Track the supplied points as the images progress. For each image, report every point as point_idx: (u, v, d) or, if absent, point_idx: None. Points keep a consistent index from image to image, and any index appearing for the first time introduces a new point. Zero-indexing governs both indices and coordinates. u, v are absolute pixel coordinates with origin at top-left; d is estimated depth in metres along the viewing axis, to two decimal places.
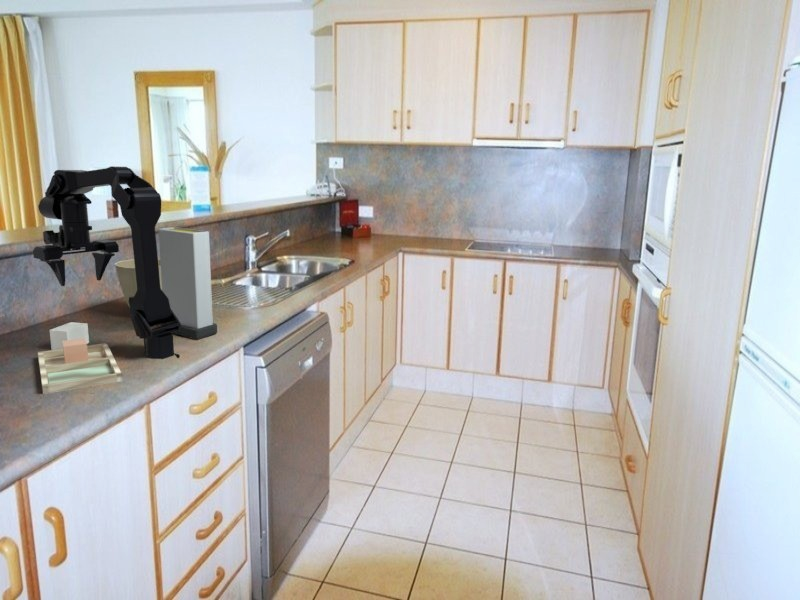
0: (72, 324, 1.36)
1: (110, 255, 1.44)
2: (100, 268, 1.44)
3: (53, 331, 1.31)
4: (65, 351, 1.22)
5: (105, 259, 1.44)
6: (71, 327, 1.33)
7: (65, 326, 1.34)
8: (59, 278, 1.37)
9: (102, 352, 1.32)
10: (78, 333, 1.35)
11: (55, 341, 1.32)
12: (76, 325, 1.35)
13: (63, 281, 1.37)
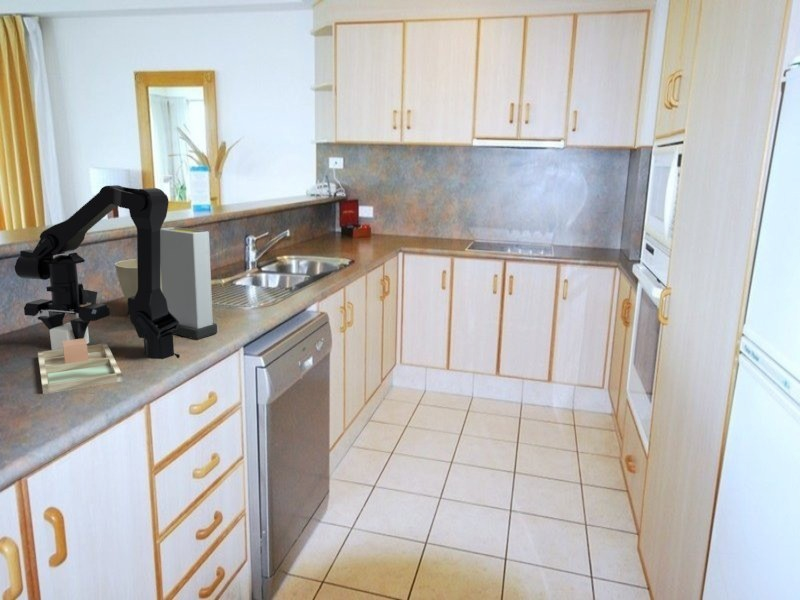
0: None
1: (75, 322, 1.30)
2: None
3: (53, 331, 1.31)
4: (65, 351, 1.22)
5: (72, 324, 1.31)
6: (71, 327, 1.33)
7: (65, 326, 1.34)
8: None
9: (102, 352, 1.32)
10: None
11: (55, 341, 1.32)
12: None
13: None
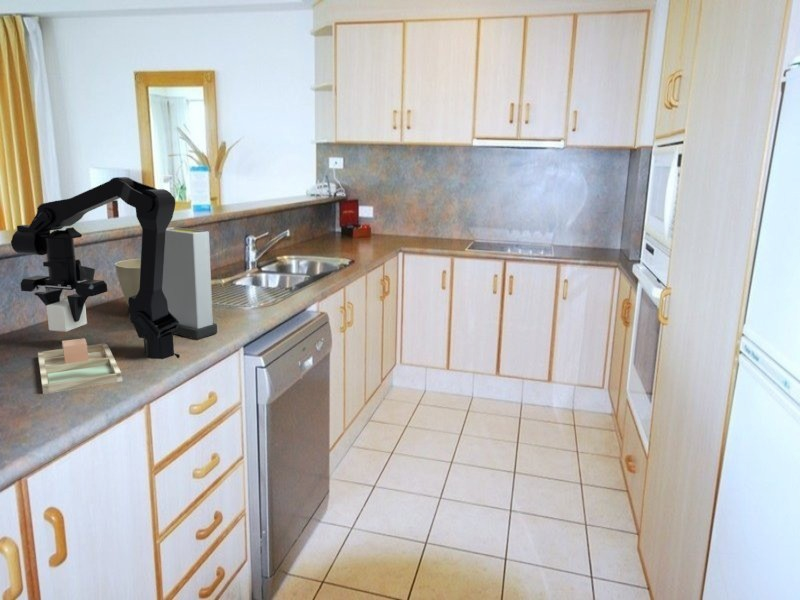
0: None
1: (72, 297, 1.29)
2: None
3: (50, 307, 1.30)
4: (65, 351, 1.22)
5: (69, 300, 1.30)
6: (68, 303, 1.32)
7: (62, 302, 1.33)
8: None
9: (102, 352, 1.32)
10: None
11: (52, 317, 1.30)
12: None
13: None
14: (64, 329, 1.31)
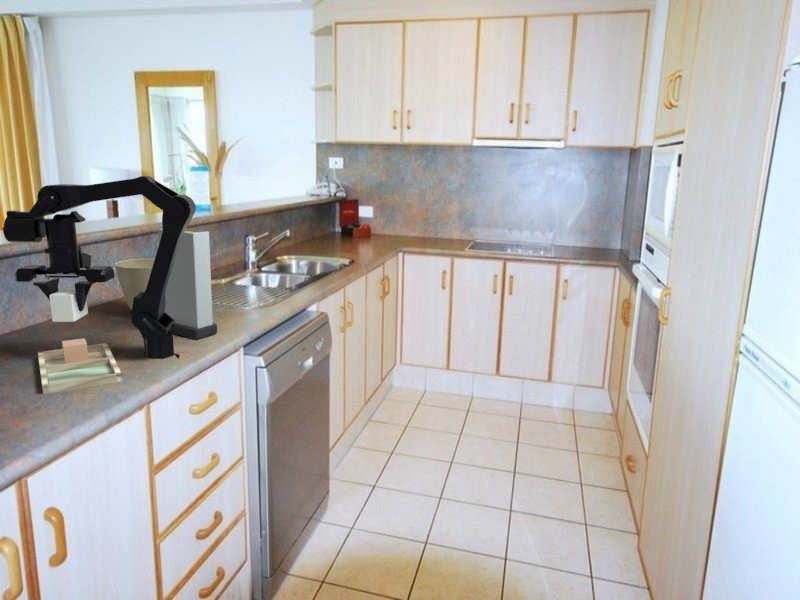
0: (69, 289, 1.27)
1: (81, 285, 1.22)
2: None
3: (54, 296, 1.22)
4: (65, 351, 1.22)
5: (77, 288, 1.23)
6: (72, 292, 1.25)
7: (63, 291, 1.25)
8: None
9: (102, 352, 1.32)
10: None
11: (56, 307, 1.23)
12: None
13: None
14: (71, 319, 1.23)
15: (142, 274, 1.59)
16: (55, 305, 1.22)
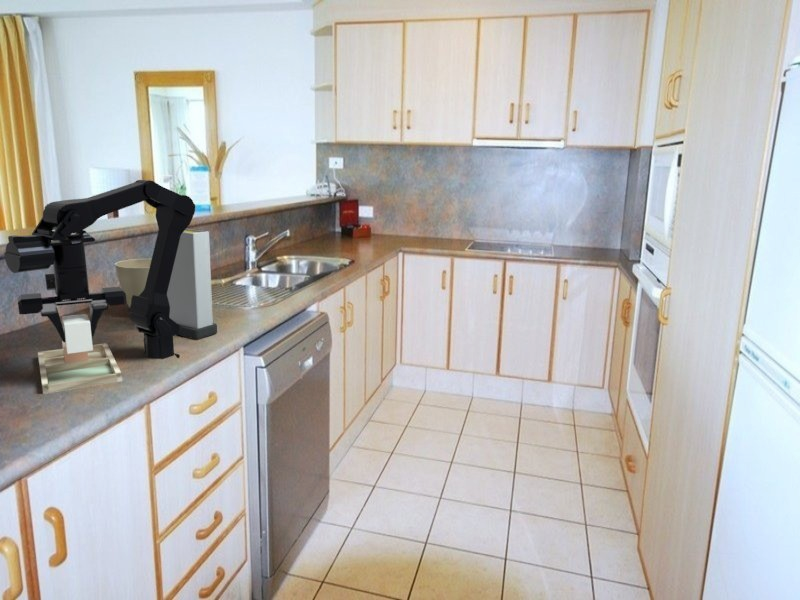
0: (72, 317, 1.15)
1: (100, 309, 1.14)
2: (90, 324, 1.15)
3: (70, 325, 1.10)
4: (65, 351, 1.22)
5: (94, 314, 1.13)
6: (83, 319, 1.14)
7: (71, 319, 1.13)
8: None
9: (102, 352, 1.32)
10: None
11: (73, 337, 1.11)
12: (81, 317, 1.15)
13: (62, 337, 1.12)
14: (90, 348, 1.13)
15: (142, 274, 1.59)
16: (71, 335, 1.11)
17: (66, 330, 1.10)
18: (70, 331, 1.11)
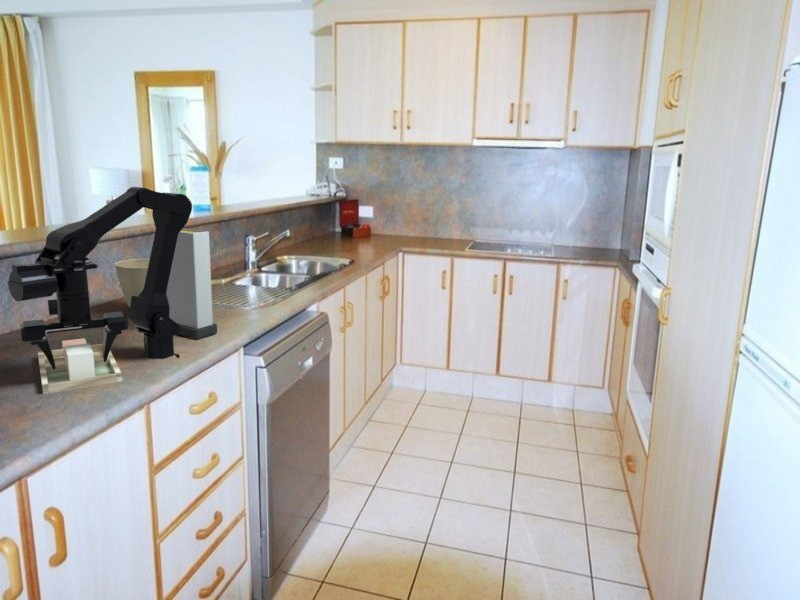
0: (75, 347, 1.17)
1: (114, 334, 1.16)
2: (104, 348, 1.17)
3: (73, 356, 1.12)
4: None
5: (108, 338, 1.16)
6: (86, 349, 1.16)
7: (74, 349, 1.15)
8: None
9: (102, 352, 1.32)
10: None
11: (76, 367, 1.13)
12: (84, 346, 1.17)
13: (52, 364, 1.12)
14: None
15: (142, 274, 1.59)
16: (74, 365, 1.12)
17: (69, 361, 1.12)
18: (73, 361, 1.12)
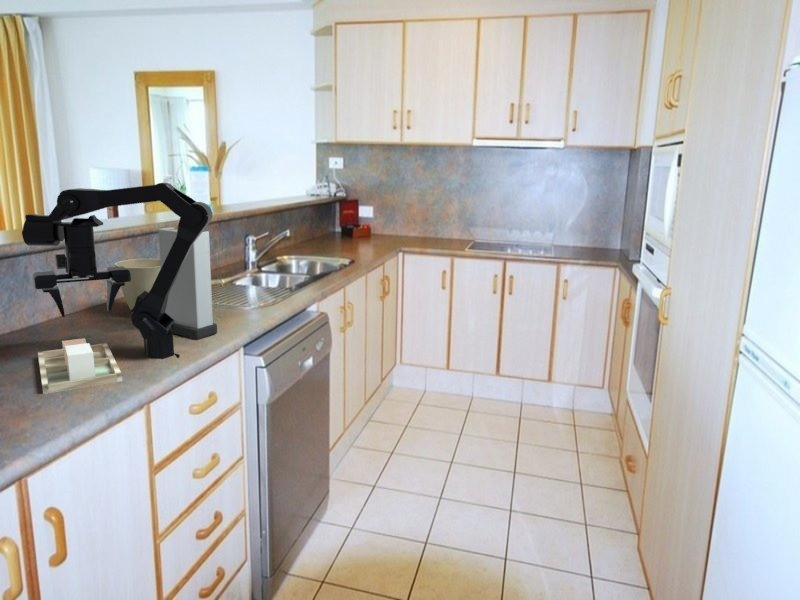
0: (75, 347, 1.17)
1: (118, 285, 1.27)
2: (108, 299, 1.28)
3: (73, 356, 1.12)
4: None
5: (113, 289, 1.27)
6: (86, 349, 1.16)
7: (74, 349, 1.15)
8: (58, 308, 1.23)
9: (102, 352, 1.32)
10: None
11: (76, 367, 1.13)
12: (84, 346, 1.17)
13: (61, 312, 1.23)
14: None
15: (142, 274, 1.59)
16: (74, 365, 1.12)
17: (69, 361, 1.12)
18: (73, 361, 1.12)
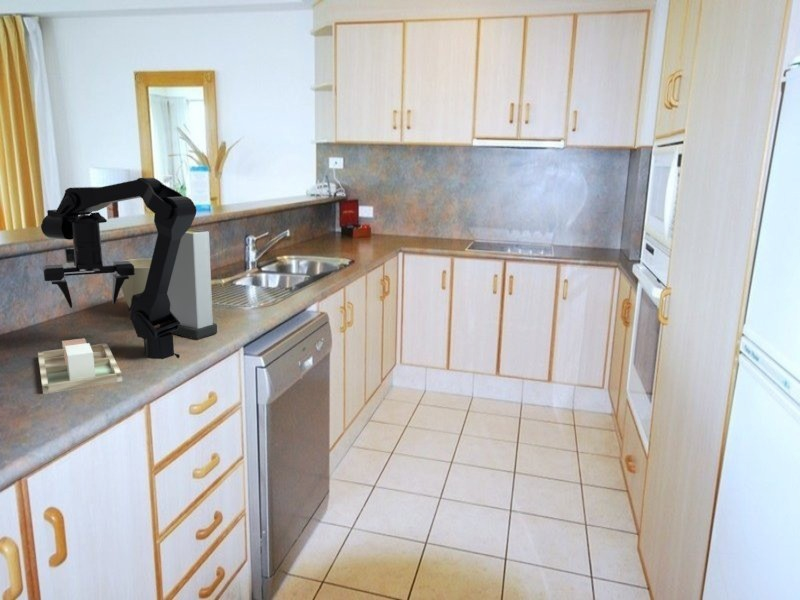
0: (75, 347, 1.17)
1: (122, 278, 1.34)
2: (114, 291, 1.36)
3: (73, 356, 1.12)
4: None
5: (117, 282, 1.34)
6: (86, 349, 1.16)
7: (74, 349, 1.15)
8: (66, 299, 1.31)
9: (102, 352, 1.32)
10: None
11: (76, 367, 1.13)
12: (84, 346, 1.17)
13: (69, 303, 1.31)
14: None
15: (142, 274, 1.59)
16: (74, 365, 1.12)
17: (69, 361, 1.12)
18: (73, 361, 1.12)
